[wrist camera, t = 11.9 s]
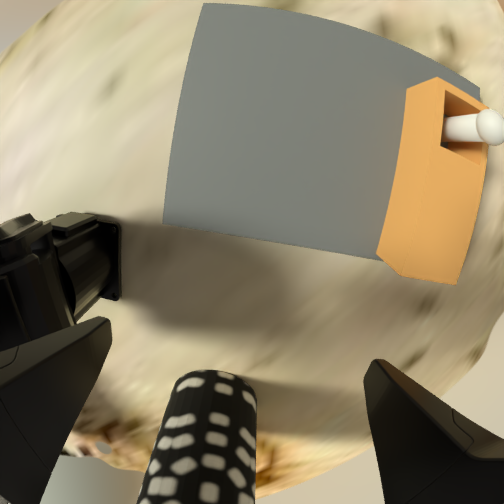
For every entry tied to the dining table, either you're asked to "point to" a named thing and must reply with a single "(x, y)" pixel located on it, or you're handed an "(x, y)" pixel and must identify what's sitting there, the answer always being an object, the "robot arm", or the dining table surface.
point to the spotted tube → (204, 443)
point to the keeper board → (297, 128)
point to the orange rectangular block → (433, 187)
